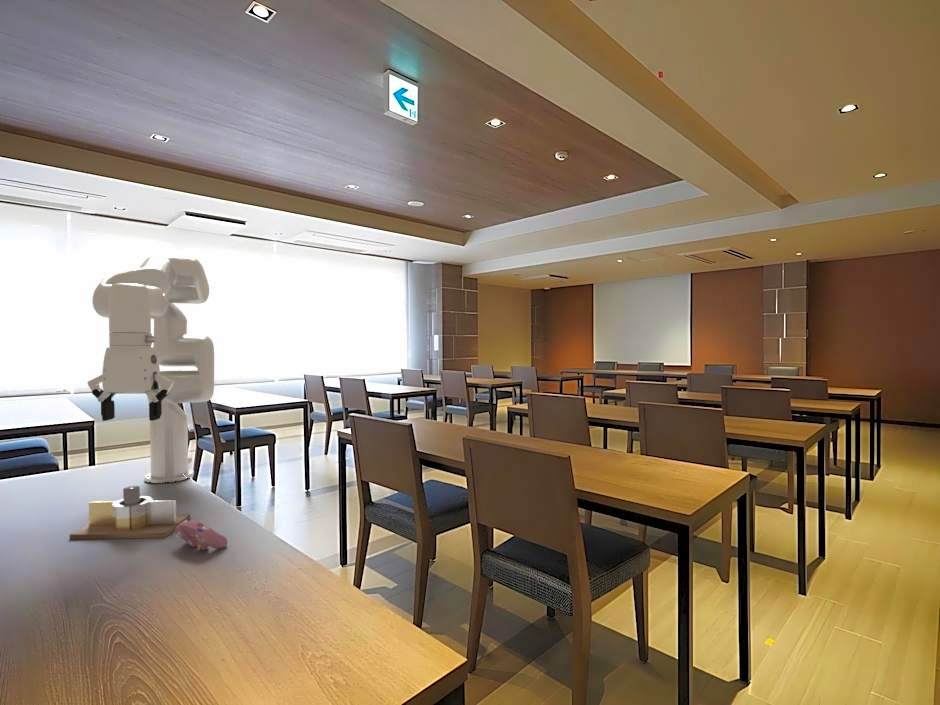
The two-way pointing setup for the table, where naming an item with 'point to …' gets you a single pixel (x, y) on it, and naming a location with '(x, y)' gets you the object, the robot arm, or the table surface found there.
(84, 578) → the table surface
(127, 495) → the hinge pin
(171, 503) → the hinge
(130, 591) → the table surface
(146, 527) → the mounting board
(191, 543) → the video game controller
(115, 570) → the table surface
